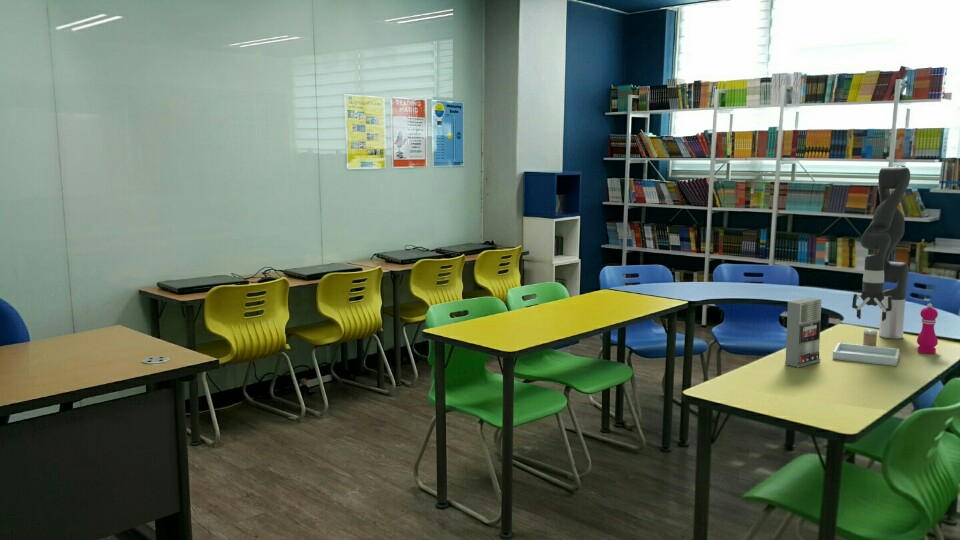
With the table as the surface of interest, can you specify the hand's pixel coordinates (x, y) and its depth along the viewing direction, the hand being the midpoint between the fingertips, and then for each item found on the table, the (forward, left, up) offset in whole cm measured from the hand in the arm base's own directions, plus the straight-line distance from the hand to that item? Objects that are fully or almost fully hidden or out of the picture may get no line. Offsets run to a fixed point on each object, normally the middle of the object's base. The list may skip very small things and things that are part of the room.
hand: (871, 319), depth 296 cm
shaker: (0, 0, -13) cm, 13 cm away
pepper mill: (-6, +20, -13) cm, 25 cm away
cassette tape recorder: (+34, -20, -13) cm, 41 cm away
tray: (+14, 0, -13) cm, 19 cm away
